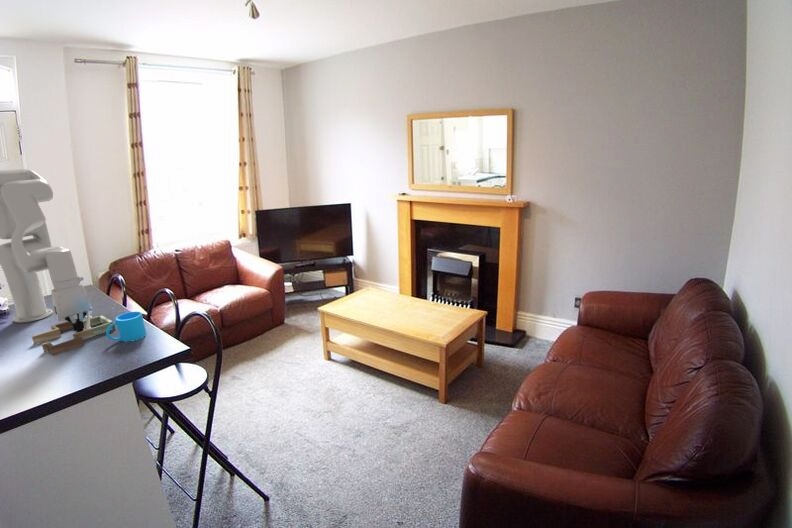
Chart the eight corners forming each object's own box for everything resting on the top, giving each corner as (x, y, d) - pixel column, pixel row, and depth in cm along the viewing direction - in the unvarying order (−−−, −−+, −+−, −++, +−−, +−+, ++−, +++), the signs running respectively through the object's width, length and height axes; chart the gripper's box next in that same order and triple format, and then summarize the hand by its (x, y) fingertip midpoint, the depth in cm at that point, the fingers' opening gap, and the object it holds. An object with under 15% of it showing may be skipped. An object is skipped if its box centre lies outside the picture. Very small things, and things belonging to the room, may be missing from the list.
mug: (141, 330, 164) (137, 309, 162) (149, 336, 159) (145, 315, 156) (105, 341, 156) (99, 320, 153) (112, 348, 150) (107, 326, 148)
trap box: (29, 340, 159) (27, 332, 158) (97, 319, 176) (96, 312, 175) (49, 356, 146) (47, 348, 145) (121, 332, 163) (119, 324, 162)
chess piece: (86, 334, 160) (89, 307, 159) (75, 331, 161) (78, 304, 160) (98, 332, 164) (101, 305, 164) (87, 329, 165) (90, 303, 165)
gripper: (86, 276, 163) (99, 322, 168) (37, 288, 152) (52, 336, 157) (94, 279, 159) (106, 326, 164) (43, 291, 148) (58, 341, 153)
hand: (79, 331), depth 160 cm, fingers closed
